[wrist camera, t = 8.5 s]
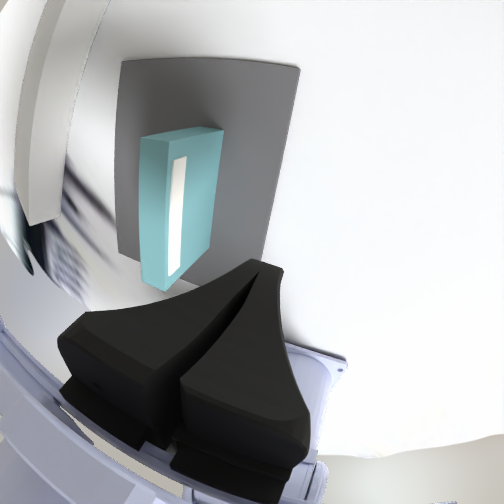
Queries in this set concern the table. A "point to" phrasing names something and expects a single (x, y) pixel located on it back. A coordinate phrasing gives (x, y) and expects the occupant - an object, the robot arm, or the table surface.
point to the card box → (176, 200)
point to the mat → (232, 152)
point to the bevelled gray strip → (51, 102)
